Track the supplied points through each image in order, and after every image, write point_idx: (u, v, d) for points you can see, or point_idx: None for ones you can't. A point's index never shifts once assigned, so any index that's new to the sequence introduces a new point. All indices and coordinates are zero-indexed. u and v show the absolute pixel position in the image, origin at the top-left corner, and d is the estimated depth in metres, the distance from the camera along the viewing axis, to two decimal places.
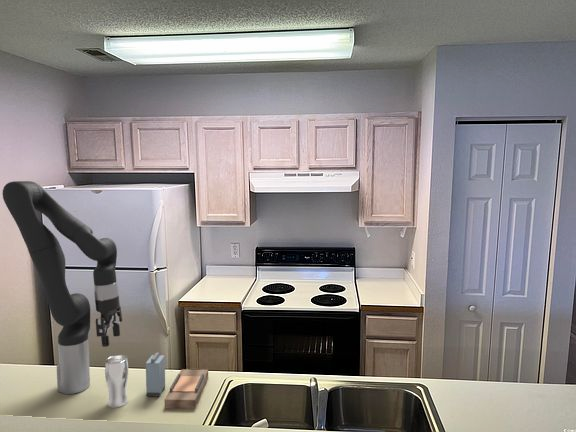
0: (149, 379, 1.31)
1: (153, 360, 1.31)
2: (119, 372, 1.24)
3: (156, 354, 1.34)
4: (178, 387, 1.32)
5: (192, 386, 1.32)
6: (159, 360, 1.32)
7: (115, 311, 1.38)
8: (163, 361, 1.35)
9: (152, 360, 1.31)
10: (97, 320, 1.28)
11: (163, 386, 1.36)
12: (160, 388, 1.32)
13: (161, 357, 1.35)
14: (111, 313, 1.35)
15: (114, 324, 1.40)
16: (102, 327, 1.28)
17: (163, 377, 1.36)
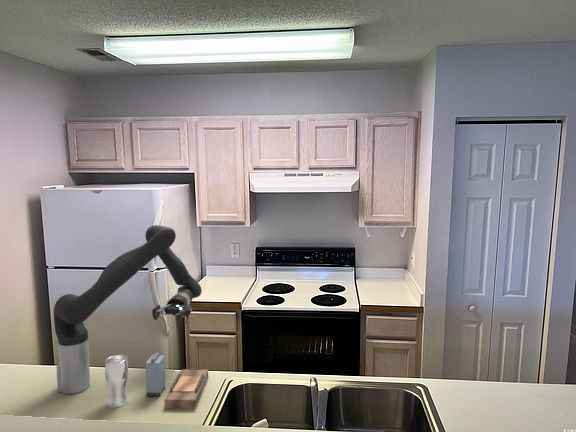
0: (149, 379, 1.31)
1: (153, 360, 1.31)
2: (119, 372, 1.24)
3: (156, 354, 1.34)
4: (178, 387, 1.32)
5: (192, 386, 1.32)
6: (159, 360, 1.32)
7: None
8: (163, 361, 1.35)
9: (152, 360, 1.31)
10: None
11: (163, 386, 1.36)
12: (160, 388, 1.32)
13: (161, 357, 1.35)
14: None
15: (159, 312, 1.49)
16: (190, 312, 1.52)
17: (163, 377, 1.36)
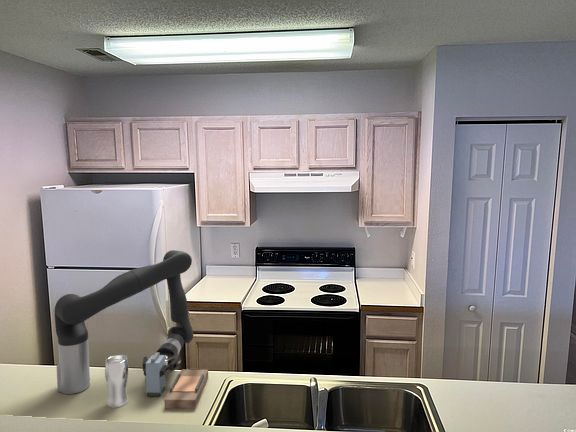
0: (149, 379, 1.31)
1: (153, 360, 1.31)
2: (119, 372, 1.24)
3: (156, 354, 1.34)
4: (178, 387, 1.32)
5: (192, 386, 1.32)
6: (159, 360, 1.32)
7: None
8: (163, 361, 1.35)
9: (152, 360, 1.31)
10: (180, 359, 1.41)
11: (163, 386, 1.36)
12: (160, 388, 1.32)
13: (161, 357, 1.35)
14: None
15: None
16: (176, 366, 1.39)
17: (163, 377, 1.36)
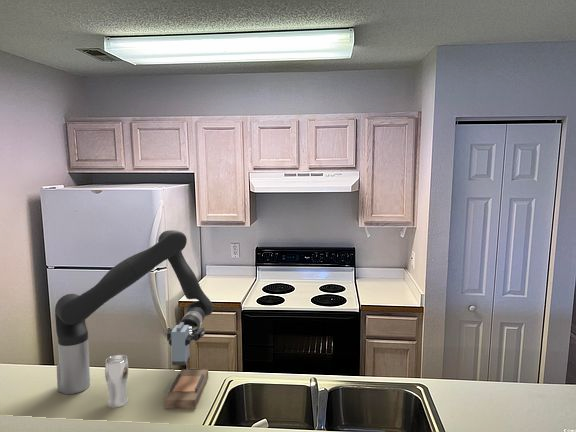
0: (174, 348, 1.31)
1: (179, 329, 1.30)
2: (119, 372, 1.24)
3: (181, 323, 1.34)
4: (178, 387, 1.32)
5: (192, 386, 1.32)
6: (184, 329, 1.32)
7: None
8: (188, 331, 1.35)
9: (178, 329, 1.30)
10: None
11: (188, 356, 1.35)
12: (186, 357, 1.32)
13: (186, 327, 1.34)
14: None
15: None
16: (201, 336, 1.38)
17: (188, 346, 1.35)
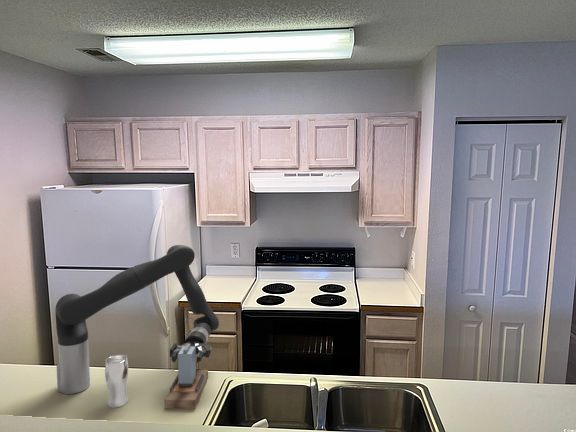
0: (181, 370, 1.31)
1: (185, 351, 1.31)
2: (119, 372, 1.24)
3: (187, 345, 1.34)
4: (178, 387, 1.32)
5: (192, 386, 1.32)
6: (191, 351, 1.32)
7: None
8: (194, 352, 1.35)
9: (184, 351, 1.31)
10: None
11: (194, 377, 1.35)
12: (192, 379, 1.32)
13: (192, 348, 1.35)
14: None
15: None
16: (210, 352, 1.39)
17: (194, 368, 1.36)
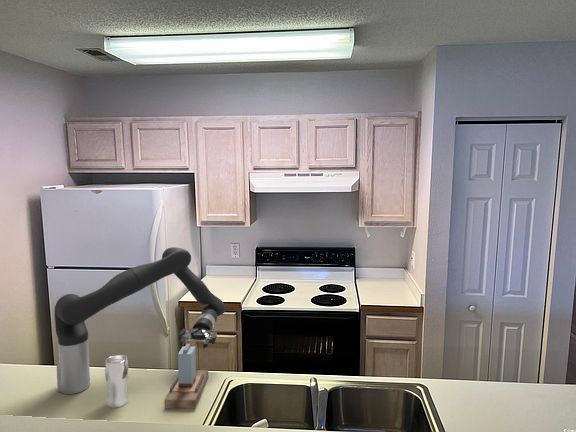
0: (181, 370, 1.31)
1: (185, 351, 1.31)
2: (119, 372, 1.24)
3: (187, 345, 1.34)
4: (178, 387, 1.32)
5: (192, 386, 1.32)
6: (191, 351, 1.32)
7: None
8: (194, 352, 1.35)
9: (184, 351, 1.31)
10: (216, 332, 1.54)
11: (194, 377, 1.35)
12: (192, 379, 1.32)
13: (192, 348, 1.35)
14: None
15: None
16: (215, 339, 1.52)
17: (194, 368, 1.36)
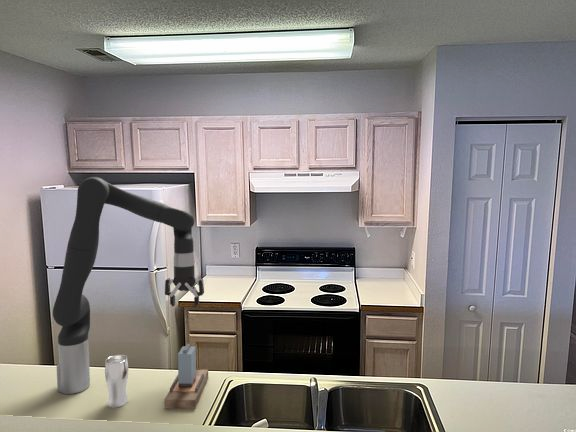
0: (181, 370, 1.31)
1: (185, 351, 1.31)
2: (119, 372, 1.24)
3: (187, 345, 1.34)
4: (178, 387, 1.32)
5: (192, 386, 1.32)
6: (191, 351, 1.32)
7: None
8: (194, 352, 1.35)
9: (184, 351, 1.31)
10: (201, 280, 1.45)
11: (194, 377, 1.35)
12: (192, 379, 1.32)
13: (192, 348, 1.35)
14: None
15: None
16: (203, 286, 1.47)
17: (194, 368, 1.36)
